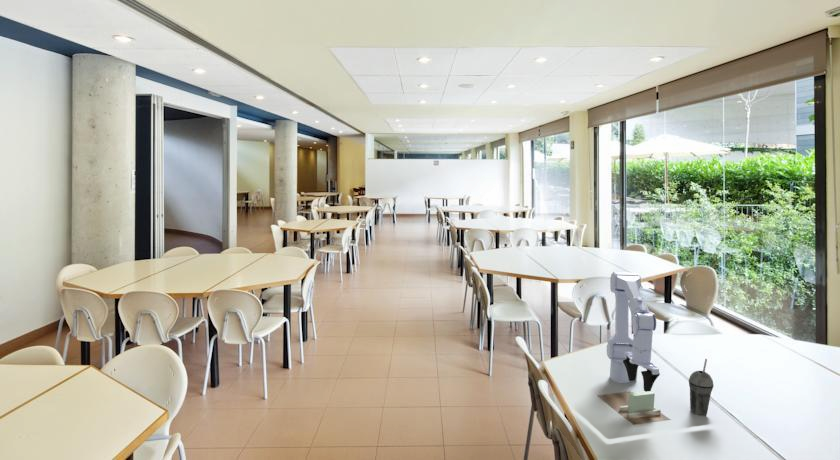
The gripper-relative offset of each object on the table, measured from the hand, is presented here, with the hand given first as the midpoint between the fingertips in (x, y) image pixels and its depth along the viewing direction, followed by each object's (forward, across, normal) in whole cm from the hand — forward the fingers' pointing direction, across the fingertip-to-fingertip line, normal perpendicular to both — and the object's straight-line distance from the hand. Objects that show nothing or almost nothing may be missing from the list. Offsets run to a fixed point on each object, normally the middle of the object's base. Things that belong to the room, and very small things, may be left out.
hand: (639, 385), depth 156 cm
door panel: (+8, +2, -1) cm, 9 cm away
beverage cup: (+10, +6, +19) cm, 22 cm away
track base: (+10, -2, -1) cm, 10 cm away
